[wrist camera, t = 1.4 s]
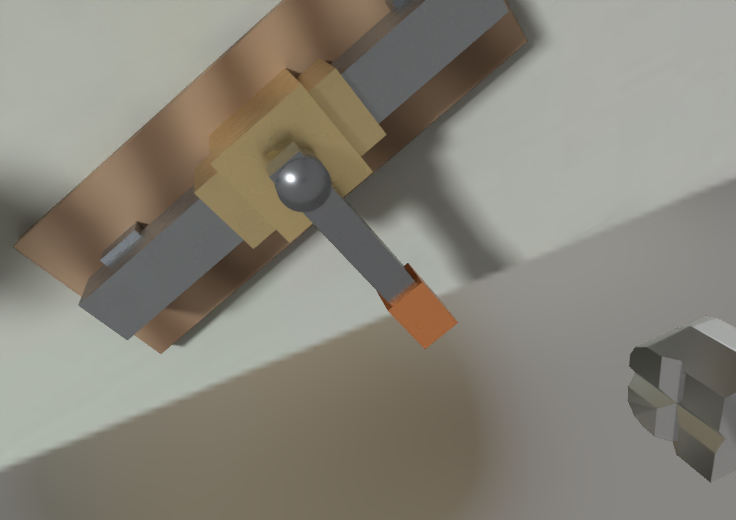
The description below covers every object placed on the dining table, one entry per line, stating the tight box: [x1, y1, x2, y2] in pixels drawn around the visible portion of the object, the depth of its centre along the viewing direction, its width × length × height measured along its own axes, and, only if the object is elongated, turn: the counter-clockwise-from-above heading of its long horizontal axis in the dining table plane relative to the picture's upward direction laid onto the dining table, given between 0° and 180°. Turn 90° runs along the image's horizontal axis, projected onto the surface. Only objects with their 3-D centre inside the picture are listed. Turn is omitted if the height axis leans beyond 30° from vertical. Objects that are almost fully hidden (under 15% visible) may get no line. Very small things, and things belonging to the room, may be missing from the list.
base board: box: [13, 0, 527, 354], centre depth 37 cm, size 34×12×2 cm, turn 128°
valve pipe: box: [79, 0, 509, 340], centre depth 34 cm, size 30×6×6 cm, turn 128°
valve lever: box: [265, 141, 458, 349], centre depth 33 cm, size 14×3×3 cm, turn 38°
